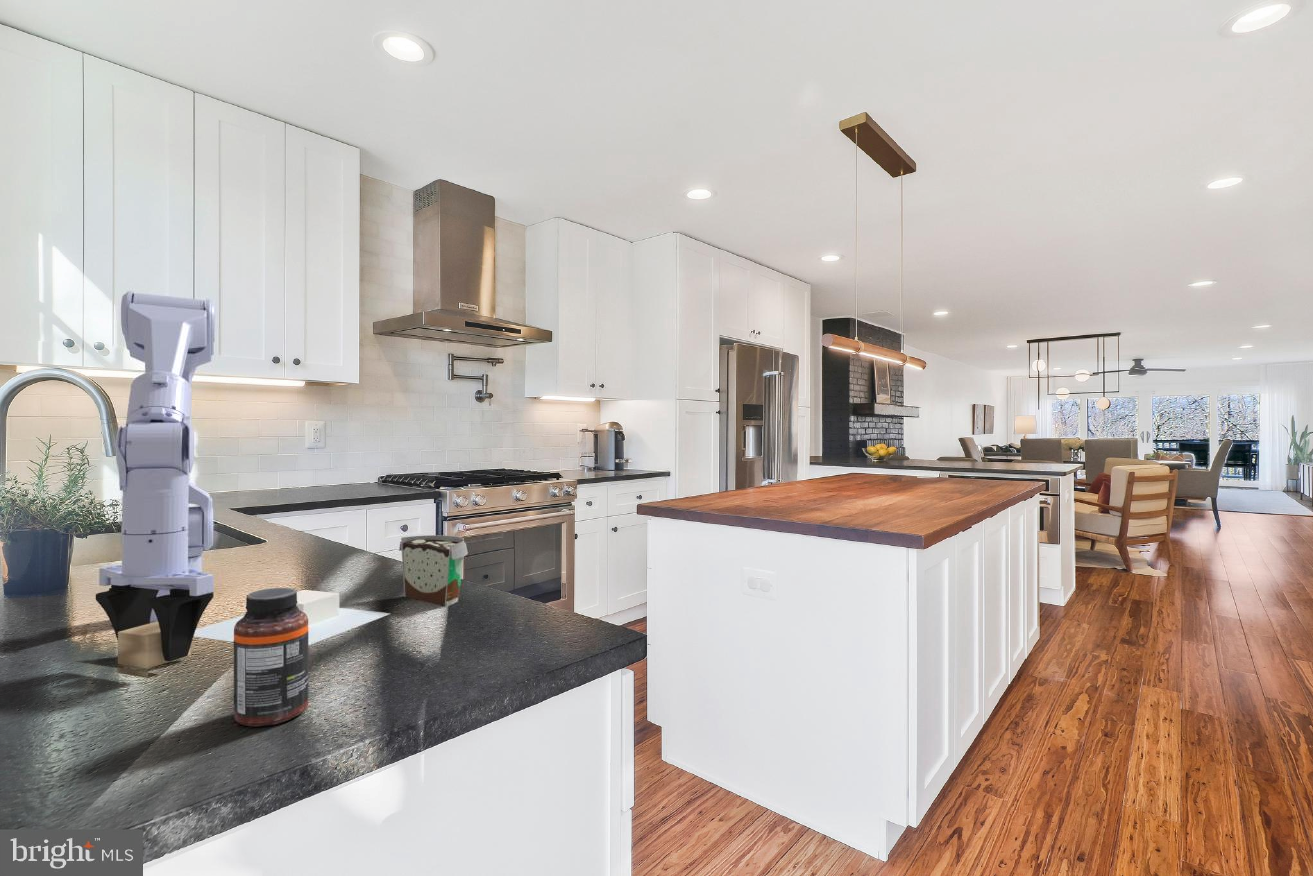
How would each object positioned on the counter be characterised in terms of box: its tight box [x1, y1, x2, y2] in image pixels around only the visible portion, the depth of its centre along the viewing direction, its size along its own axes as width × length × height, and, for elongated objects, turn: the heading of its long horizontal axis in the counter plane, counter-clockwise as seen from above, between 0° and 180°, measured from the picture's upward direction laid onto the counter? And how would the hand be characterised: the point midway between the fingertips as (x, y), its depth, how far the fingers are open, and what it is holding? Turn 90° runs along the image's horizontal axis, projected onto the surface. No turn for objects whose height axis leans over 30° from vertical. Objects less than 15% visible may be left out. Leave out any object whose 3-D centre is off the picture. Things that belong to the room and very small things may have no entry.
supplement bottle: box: [232, 587, 309, 728], centre depth 59 cm, size 6×6×11 cm
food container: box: [398, 534, 469, 607], centre depth 98 cm, size 12×6×10 cm, turn 58°
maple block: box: [117, 622, 192, 679], centre depth 70 cm, size 4×4×4 cm
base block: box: [296, 589, 340, 626], centre depth 85 cm, size 6×6×3 cm
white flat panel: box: [193, 607, 392, 646], centre depth 83 cm, size 18×16×1 cm
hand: (154, 655), depth 70 cm, fingers open, 6 cm apart
